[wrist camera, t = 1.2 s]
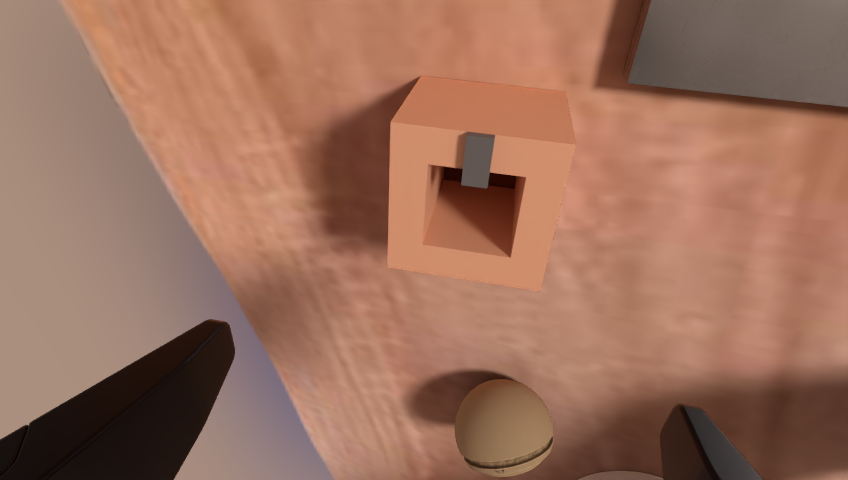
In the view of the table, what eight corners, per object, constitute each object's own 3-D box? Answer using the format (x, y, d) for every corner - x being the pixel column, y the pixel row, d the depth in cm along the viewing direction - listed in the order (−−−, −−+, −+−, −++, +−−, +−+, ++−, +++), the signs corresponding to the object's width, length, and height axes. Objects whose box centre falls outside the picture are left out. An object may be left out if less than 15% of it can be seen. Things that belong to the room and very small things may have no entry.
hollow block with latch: (538, 217, 21) (540, 296, 17) (414, 200, 22) (385, 272, 17) (566, 91, 18) (577, 149, 14) (421, 76, 19) (387, 125, 14)
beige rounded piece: (447, 398, 29) (433, 479, 25) (484, 345, 26) (475, 427, 22) (524, 430, 29) (523, 515, 25) (569, 381, 26) (576, 468, 22)
